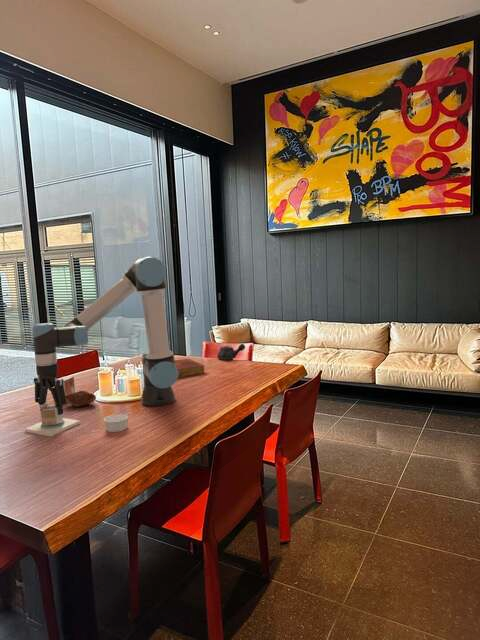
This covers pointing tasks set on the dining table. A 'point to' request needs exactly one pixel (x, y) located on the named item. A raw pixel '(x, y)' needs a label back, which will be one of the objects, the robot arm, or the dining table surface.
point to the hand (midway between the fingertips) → (52, 421)
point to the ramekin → (116, 422)
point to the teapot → (229, 352)
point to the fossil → (80, 398)
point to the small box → (68, 385)
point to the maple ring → (48, 415)
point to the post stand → (52, 426)
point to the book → (188, 367)
